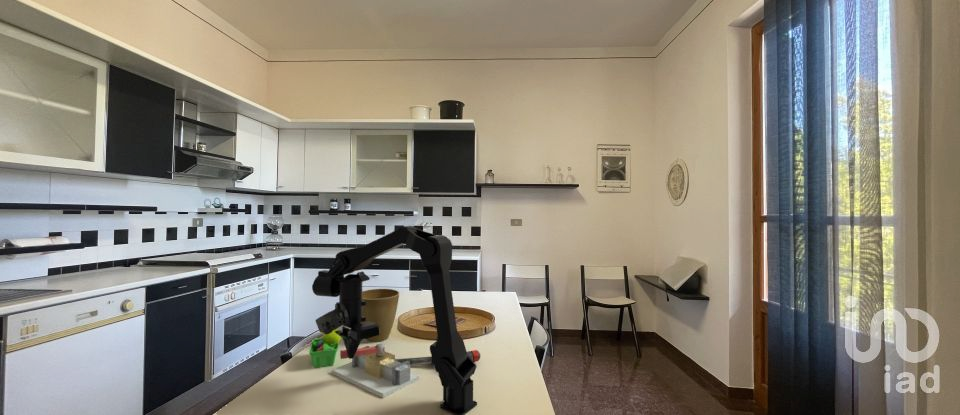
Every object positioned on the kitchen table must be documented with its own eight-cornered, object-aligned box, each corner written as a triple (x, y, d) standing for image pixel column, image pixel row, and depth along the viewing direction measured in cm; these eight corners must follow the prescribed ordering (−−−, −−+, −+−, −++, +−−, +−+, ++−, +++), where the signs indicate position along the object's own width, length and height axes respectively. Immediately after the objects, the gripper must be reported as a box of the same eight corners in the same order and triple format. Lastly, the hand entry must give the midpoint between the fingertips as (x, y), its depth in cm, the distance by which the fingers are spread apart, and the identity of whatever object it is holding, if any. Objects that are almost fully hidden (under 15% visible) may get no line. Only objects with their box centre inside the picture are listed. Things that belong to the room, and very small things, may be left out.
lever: (383, 352, 101) (383, 343, 101) (385, 355, 99) (385, 346, 99) (340, 358, 96) (340, 349, 96) (340, 362, 94) (340, 352, 94)
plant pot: (353, 334, 132) (353, 290, 132) (394, 329, 138) (394, 287, 138) (357, 349, 118) (358, 300, 118) (403, 342, 125) (403, 295, 125)
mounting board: (419, 379, 98) (419, 375, 98) (383, 397, 88) (383, 393, 88) (367, 359, 111) (367, 355, 111) (331, 373, 101) (331, 369, 101)
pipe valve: (412, 382, 96) (412, 361, 96) (397, 389, 91) (397, 368, 92) (365, 362, 107) (365, 344, 107) (349, 368, 103) (350, 349, 103)
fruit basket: (312, 355, 113) (313, 319, 113) (343, 351, 116) (343, 316, 116) (308, 370, 103) (309, 330, 103) (342, 366, 105) (342, 327, 106)
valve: (479, 358, 117) (482, 372, 102) (397, 364, 115) (388, 379, 100) (478, 338, 118) (481, 348, 103) (397, 343, 116) (388, 354, 101)
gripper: (304, 298, 95) (304, 358, 95) (337, 309, 83) (338, 379, 82) (345, 291, 103) (345, 346, 103) (380, 301, 91) (381, 364, 90)
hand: (351, 358), depth 94 cm, fingers closed
